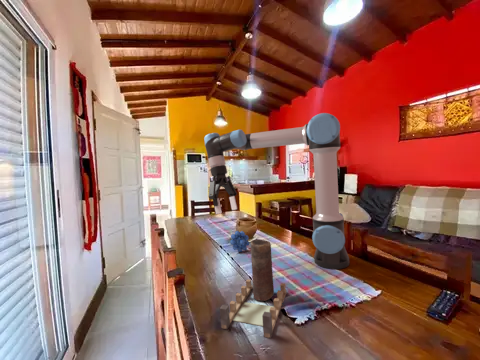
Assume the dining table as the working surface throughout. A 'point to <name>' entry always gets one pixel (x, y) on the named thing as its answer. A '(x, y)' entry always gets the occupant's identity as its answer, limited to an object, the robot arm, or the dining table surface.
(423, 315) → the dining table surface
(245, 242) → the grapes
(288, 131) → the robot arm
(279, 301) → the comb lane
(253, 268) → the brown tall cylinder
